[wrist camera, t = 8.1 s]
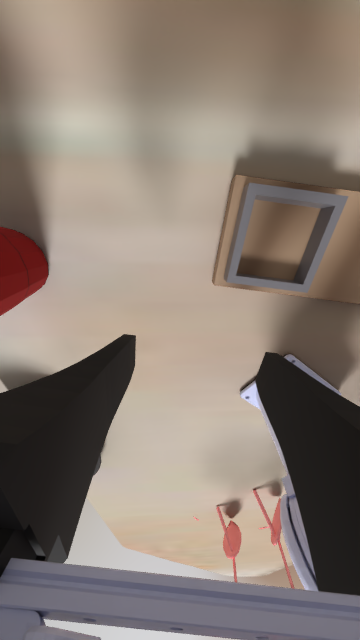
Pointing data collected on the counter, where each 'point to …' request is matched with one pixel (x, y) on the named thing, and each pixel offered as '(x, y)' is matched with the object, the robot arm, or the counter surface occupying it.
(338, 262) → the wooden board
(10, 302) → the plastic cup
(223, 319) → the counter surface
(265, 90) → the counter surface
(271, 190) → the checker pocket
